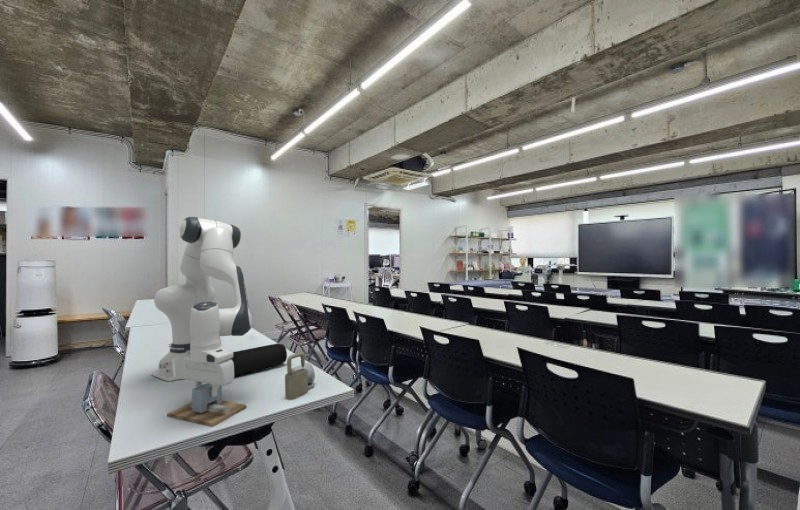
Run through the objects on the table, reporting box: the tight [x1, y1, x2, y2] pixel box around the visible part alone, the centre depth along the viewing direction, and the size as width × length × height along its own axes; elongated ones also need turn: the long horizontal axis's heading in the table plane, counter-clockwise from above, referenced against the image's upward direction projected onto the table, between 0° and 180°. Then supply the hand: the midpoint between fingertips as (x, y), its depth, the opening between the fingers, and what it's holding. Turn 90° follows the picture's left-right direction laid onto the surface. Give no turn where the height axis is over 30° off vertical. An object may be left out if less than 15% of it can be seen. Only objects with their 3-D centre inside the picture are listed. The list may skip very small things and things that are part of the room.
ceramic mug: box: [291, 362, 316, 390], centre depth 133 cm, size 11×8×8 cm
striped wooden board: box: [166, 399, 248, 428], centre depth 113 cm, size 20×13×2 cm, turn 68°
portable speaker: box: [230, 343, 288, 377], centre depth 153 cm, size 26×10×10 cm, turn 132°
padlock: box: [284, 351, 309, 400], centre depth 125 cm, size 4×8×15 cm, turn 145°
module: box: [191, 383, 223, 413], centre depth 113 cm, size 4×8×7 cm, turn 158°
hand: (207, 394), depth 113 cm, fingers open, 4 cm apart
